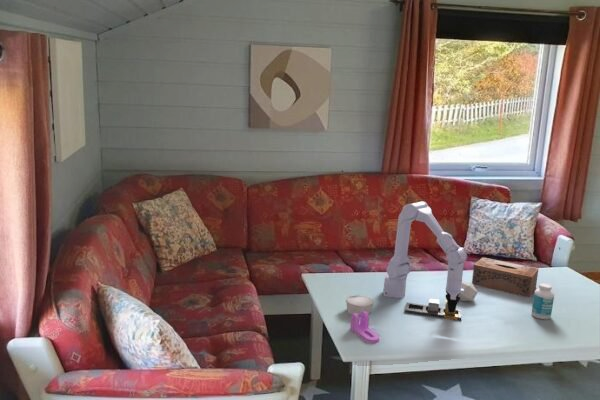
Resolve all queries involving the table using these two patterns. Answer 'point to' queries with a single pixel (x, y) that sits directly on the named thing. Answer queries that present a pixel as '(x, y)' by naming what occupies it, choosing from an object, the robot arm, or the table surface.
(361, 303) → the ramekin
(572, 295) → the table surface
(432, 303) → the matte gray cube
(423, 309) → the rail
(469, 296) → the die
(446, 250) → the robot arm
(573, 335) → the table surface
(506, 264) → the tissue box cover
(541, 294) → the pill bottle
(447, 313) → the light wood cube
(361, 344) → the table surface
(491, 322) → the table surface
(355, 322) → the bracket
